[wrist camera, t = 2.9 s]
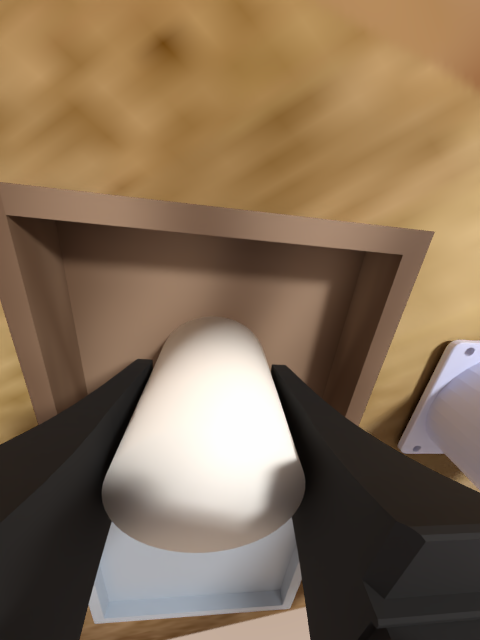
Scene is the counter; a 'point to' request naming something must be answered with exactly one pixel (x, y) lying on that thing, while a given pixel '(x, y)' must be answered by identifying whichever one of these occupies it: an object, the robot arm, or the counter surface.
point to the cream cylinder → (205, 447)
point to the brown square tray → (195, 288)
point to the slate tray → (194, 579)
